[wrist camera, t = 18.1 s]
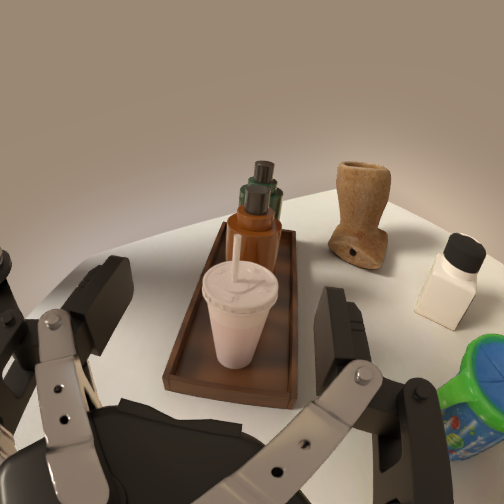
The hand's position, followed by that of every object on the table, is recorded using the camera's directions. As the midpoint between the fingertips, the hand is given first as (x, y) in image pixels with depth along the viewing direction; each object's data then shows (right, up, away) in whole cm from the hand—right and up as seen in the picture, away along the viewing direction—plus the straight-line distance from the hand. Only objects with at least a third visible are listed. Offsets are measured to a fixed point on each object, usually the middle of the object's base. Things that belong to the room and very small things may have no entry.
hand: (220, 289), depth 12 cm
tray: (+1, -4, +27) cm, 28 cm away
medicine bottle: (+29, -7, +28) cm, 41 cm away
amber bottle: (+1, -4, +27) cm, 27 cm away
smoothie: (-1, -9, +19) cm, 21 cm away
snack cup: (+22, -18, +10) cm, 30 cm away
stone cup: (+19, +2, +41) cm, 46 cm away
